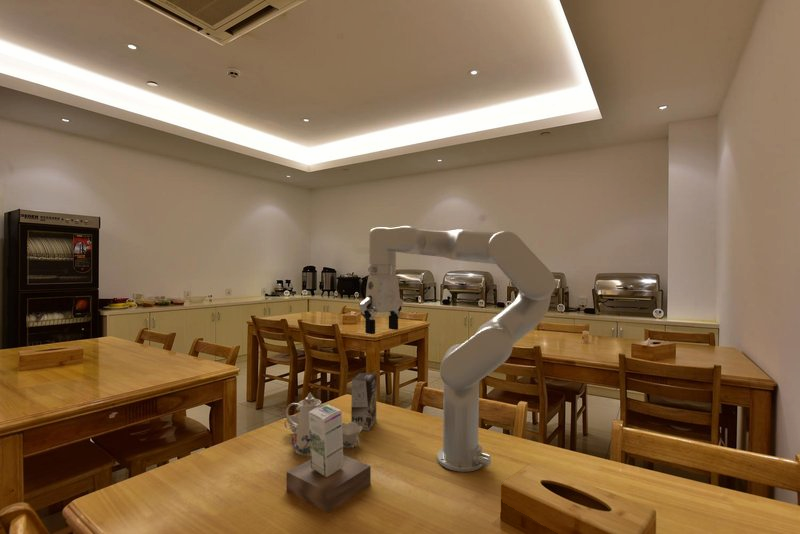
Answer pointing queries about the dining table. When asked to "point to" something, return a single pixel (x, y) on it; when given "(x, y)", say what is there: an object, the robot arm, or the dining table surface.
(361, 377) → the coffee box
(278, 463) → the dining table surface
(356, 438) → the chinaware
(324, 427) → the syrup box
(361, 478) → the walnut block
